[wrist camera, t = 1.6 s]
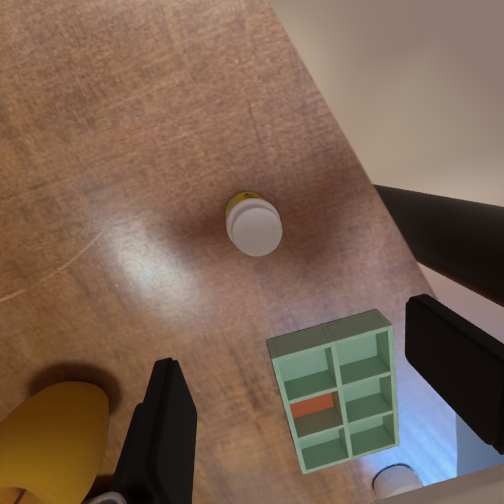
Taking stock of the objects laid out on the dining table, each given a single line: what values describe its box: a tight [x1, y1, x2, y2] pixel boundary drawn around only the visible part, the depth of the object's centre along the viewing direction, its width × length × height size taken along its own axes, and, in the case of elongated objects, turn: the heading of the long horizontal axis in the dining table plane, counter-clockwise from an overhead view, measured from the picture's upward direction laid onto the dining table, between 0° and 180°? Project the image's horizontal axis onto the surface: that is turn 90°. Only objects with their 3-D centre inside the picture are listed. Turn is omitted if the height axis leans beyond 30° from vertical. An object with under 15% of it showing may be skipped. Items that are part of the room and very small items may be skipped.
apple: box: [0, 381, 109, 504], centre depth 28 cm, size 11×11×13 cm
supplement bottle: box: [225, 191, 282, 257], centre depth 25 cm, size 5×5×8 cm
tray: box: [267, 309, 399, 474], centre depth 37 cm, size 15×22×4 cm
